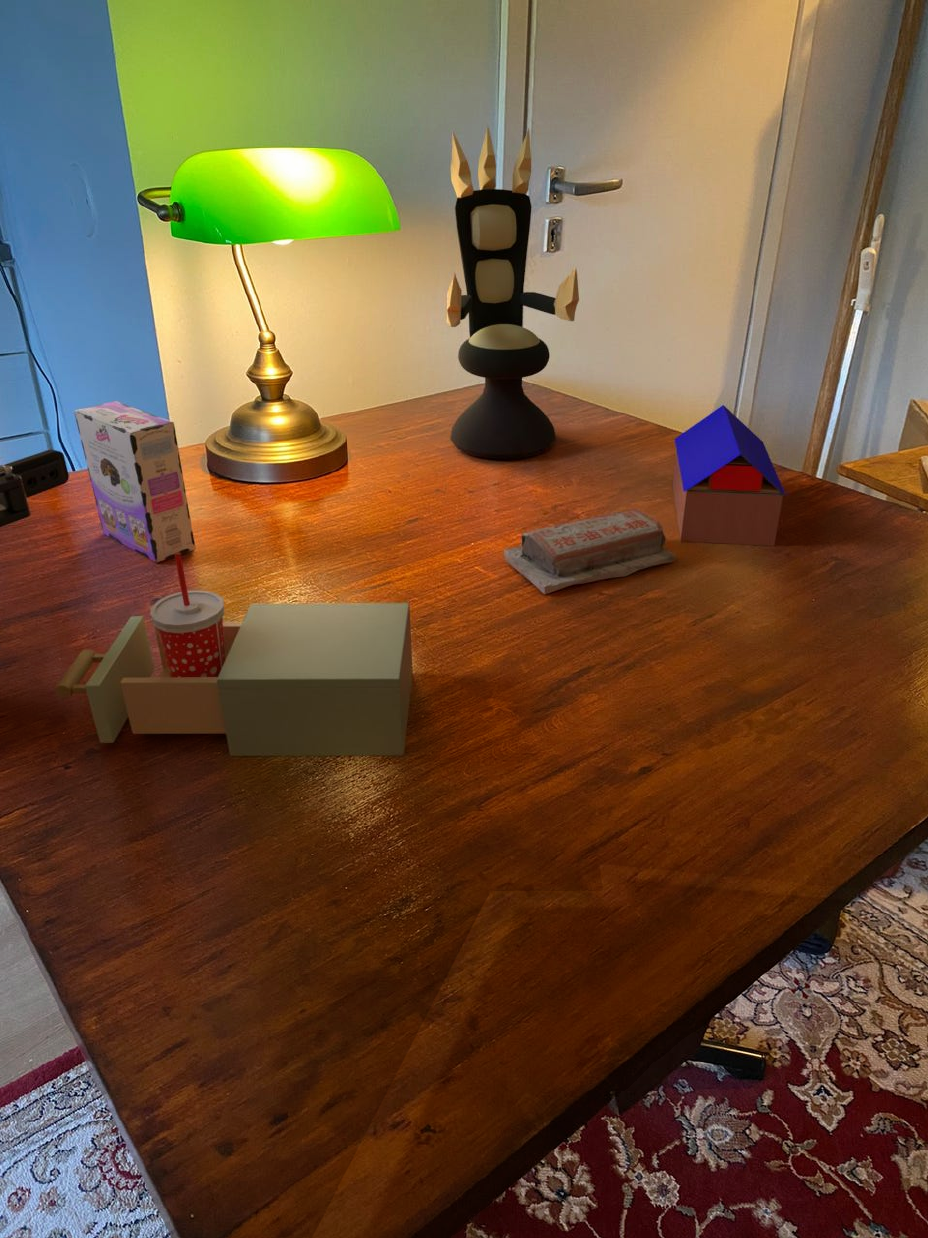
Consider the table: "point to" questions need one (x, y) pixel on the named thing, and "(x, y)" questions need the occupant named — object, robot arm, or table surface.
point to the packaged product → (589, 550)
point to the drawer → (145, 688)
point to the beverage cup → (191, 630)
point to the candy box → (136, 479)
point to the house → (725, 484)
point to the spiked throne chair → (500, 309)
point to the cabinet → (318, 680)
